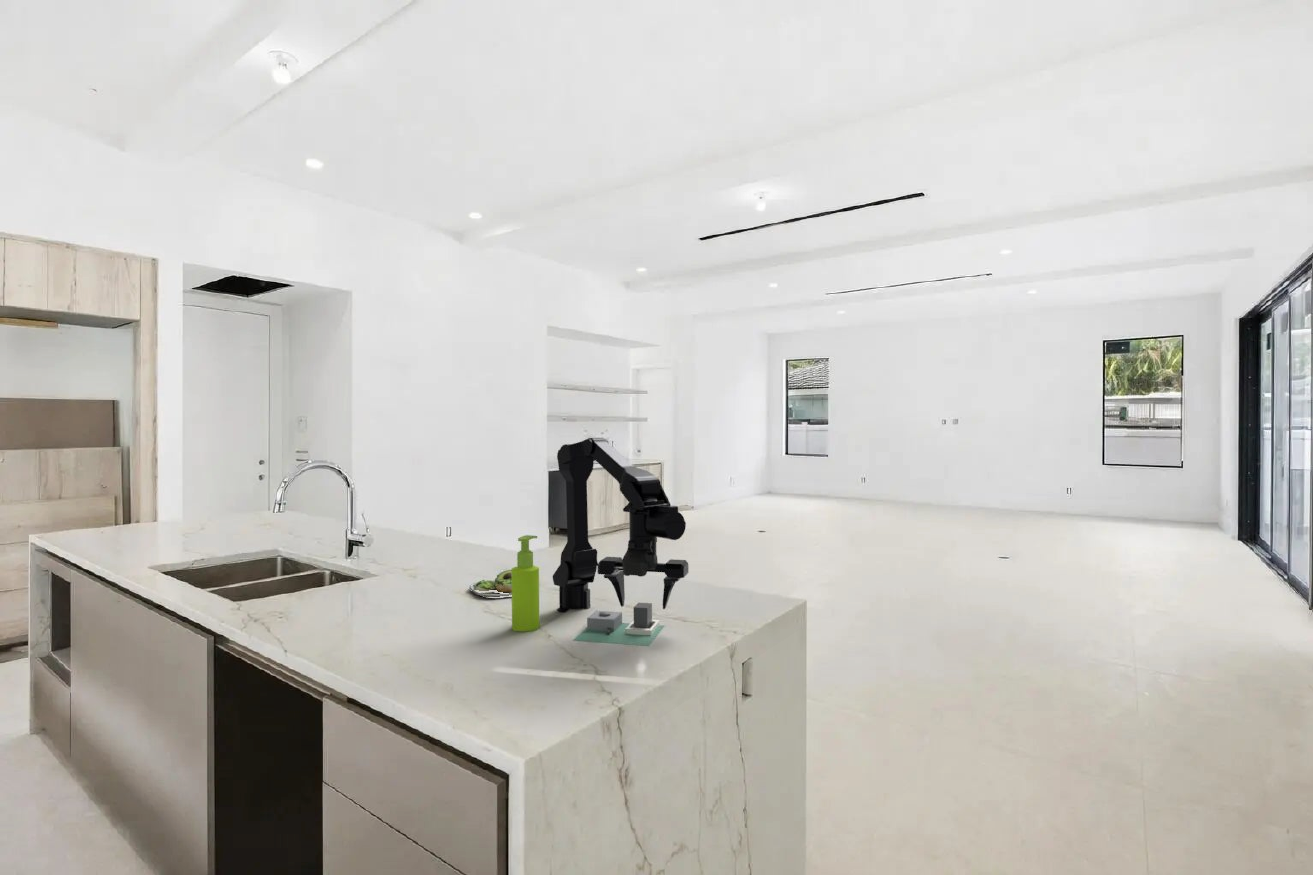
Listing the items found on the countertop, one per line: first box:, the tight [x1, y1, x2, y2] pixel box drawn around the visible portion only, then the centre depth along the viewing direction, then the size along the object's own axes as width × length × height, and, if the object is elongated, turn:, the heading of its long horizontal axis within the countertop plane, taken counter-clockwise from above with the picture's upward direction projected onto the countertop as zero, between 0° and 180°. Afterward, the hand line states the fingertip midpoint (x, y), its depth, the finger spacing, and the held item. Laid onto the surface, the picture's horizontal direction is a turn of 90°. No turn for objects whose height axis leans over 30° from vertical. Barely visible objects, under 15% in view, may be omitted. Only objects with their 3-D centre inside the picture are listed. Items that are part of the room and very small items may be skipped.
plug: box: [633, 602, 653, 629], centre depth 149 cm, size 3×5×5 cm, turn 167°
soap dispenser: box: [511, 534, 540, 632], centre depth 153 cm, size 6×7×20 cm
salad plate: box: [469, 569, 512, 597], centre depth 186 cm, size 19×18×5 cm
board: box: [572, 610, 665, 647], centre depth 146 cm, size 16×14×4 cm
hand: (643, 607), depth 148 cm, fingers open, 9 cm apart
